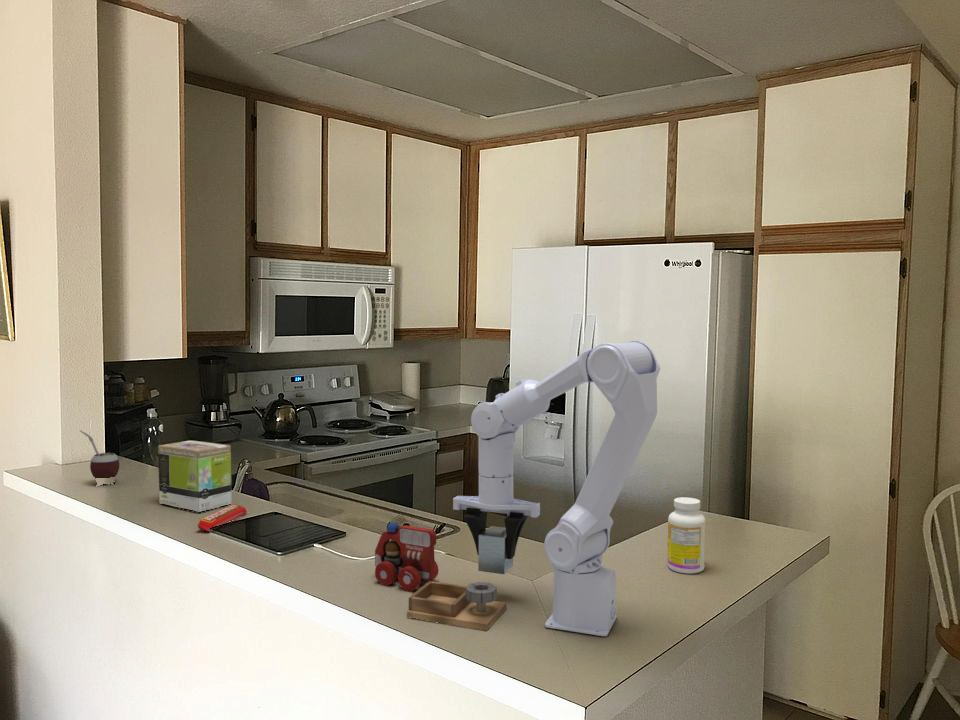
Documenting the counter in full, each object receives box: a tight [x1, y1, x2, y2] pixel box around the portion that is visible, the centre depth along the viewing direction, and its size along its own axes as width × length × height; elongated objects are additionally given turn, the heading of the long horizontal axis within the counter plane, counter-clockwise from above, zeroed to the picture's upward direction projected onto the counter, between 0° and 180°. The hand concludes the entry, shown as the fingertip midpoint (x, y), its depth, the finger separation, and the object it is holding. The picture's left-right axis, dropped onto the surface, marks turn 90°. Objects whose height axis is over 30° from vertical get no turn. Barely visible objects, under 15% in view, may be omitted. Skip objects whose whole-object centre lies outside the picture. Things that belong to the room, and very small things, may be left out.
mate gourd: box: [79, 430, 120, 479], centre depth 207 cm, size 8×8×15 cm
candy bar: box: [197, 503, 248, 532], centre depth 172 cm, size 16×4×3 cm, turn 167°
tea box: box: [157, 440, 233, 511], centre depth 186 cm, size 15×10×15 cm, turn 58°
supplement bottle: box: [667, 496, 706, 575], centre depth 143 cm, size 7×7×13 cm
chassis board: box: [406, 580, 507, 632], centre depth 122 cm, size 13×9×4 cm
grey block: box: [477, 525, 514, 575], centre depth 128 cm, size 4×4×7 cm
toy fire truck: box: [374, 521, 439, 592], centre depth 136 cm, size 7×12×10 cm, turn 58°
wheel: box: [466, 581, 498, 604], centre depth 121 cm, size 5×5×2 cm
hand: (496, 555), depth 128 cm, fingers closed on grey block, 4 cm apart
